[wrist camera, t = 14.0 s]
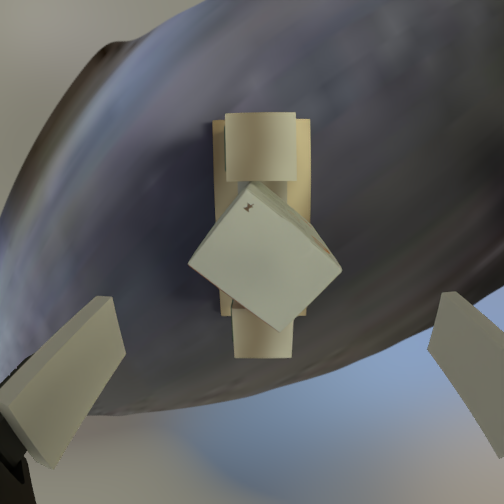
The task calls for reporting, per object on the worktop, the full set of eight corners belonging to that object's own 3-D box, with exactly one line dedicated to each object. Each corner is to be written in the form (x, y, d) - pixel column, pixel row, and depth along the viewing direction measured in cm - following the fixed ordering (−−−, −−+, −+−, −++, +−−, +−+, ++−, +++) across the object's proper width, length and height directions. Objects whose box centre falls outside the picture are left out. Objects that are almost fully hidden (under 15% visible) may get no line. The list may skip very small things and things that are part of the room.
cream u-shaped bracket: (308, 120, 29) (329, 101, 19) (304, 311, 36) (318, 365, 25) (214, 121, 30) (190, 103, 19) (222, 311, 36) (207, 365, 26)
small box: (215, 223, 31) (183, 263, 19) (253, 175, 30) (246, 184, 17) (274, 270, 32) (280, 335, 20) (313, 226, 31) (346, 268, 18)
